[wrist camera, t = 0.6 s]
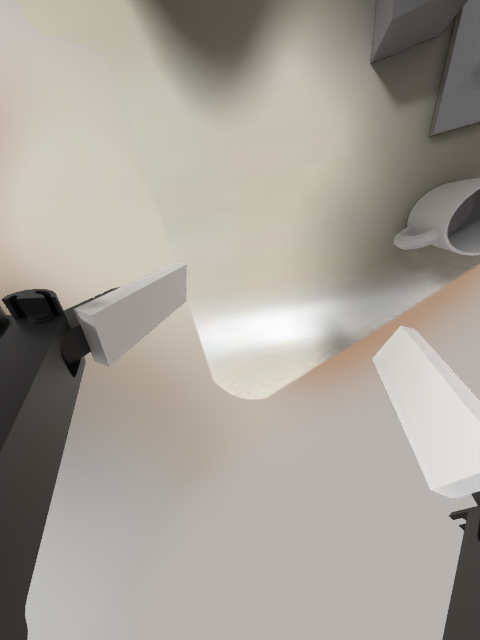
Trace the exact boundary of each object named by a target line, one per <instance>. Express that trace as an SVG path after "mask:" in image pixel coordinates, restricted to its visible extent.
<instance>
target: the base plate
mask: <svg viewBox="0 0 480 640" xmlns="http://www.w3.org/2000/svg"><path fill="white" fill-rule="evenodd" d="M476 123H480V0H468V1H467V2H466V4H465V5H464V6H463V7H462V8H461V10H460V11H459V12H458V13H457V15H456V19H455V23H454V27H453V32H452V36H451V41H450V45H449V50H448V54H447V58H446V63H445V67H444V72H443V76H442V81H441V85H440V90H439V94H438V98H437V103H436V107H435V112H434V116H433V121H432V125H431V129H430V134H429V136H433V135H436V134H440V133H444V132H447V131H451V130H454V129H458V128H462V127H465V126H469V125H473V124H476Z"/></svg>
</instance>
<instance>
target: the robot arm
mask: <svg viewBox="0 0 480 640" xmlns="http://www.w3.org/2000/svg"><path fill="white" fill-rule="evenodd" d="M2 301H3V302H4V304H5V305H6V307H7V308H8V310H9V311H10V313H11V314H12V315H6V314H5V312H4V311H3V309H2V308H1V306H0V640H27V635H28V633H27V632H28V629H27V624H26V619H25V605H26V599H27V595H28V591H29V587H30V583H31V579H32V575H33V571H34V567H35V563H36V559H37V555H38V551H39V547H40V543H41V539H42V534H43V531H44V526H45V523H46V519H47V515H48V511H49V507H50V503H51V499H52V494H53V491H54V486H55V483H56V479H57V474H58V471H59V466H60V463H61V458H62V455H63V450H64V446H65V442H66V438H67V434H68V430H69V426H70V422H71V418H72V414H73V410H74V406H75V402H76V398H77V394H78V390H79V386H80V382H81V378H82V374H83V370H84V366H85V357H84V356H85V355H86V354H88V353H89V352H91V353H92V356H93V358H94V360H95V361H96V362H99V363H102V364H104V365H107V366H110V365H112V364H113V363H114V362H115V361H116V360H118V359H119V358H120V357H121V356H122V355H123V354H124V353H125V352H127V351H128V350H129V349H130V348H132V347H133V346H134V345H135V344H136V343H137V342H139V341H140V340H141V339H142V338H143V337H144V336H146V335H147V334H148V333H149V332H150V331H152V330H153V329H154V328H155V327H156V326H157V325H158V324H160V323H161V322H162V321H163V320H164V319H166V318H167V317H168V316H169V315H170V314H171V313H173V312H174V311H175V310H176V309H177V308H179V307H180V306H181V305H182V304H183V303H184V302H186V264H183V263H179V262H174V263H171V264H169V265H167V266H165V267H163V268H161V269H159V270H157V271H154V272H152V273H150V274H148V275H146V276H144V277H141V278H139V279H137V280H135V281H133V282H131V283H129V284H126V285H124V286H122V287H118V288H114V289H111V290H109V291H106V292H104V293H103V294H100V295H97V296H95V298H91V299H89V300H87V301H84V302H82V303H80V304H78V305H76V306H73V307H71V308H69V309H67V310H65V311H63V309H62V306H61V305H60V302H59V300H58V297H57V295H56V294H55V293H54V292H53V291H50V290H46V289H32V290H24V291H20V292H16V293H13V294H10V295H7V296H6V297H4V298H3V299H2ZM372 361H373V363H374V365H375V367H376V369H377V372H378V374H379V376H380V378H381V381H382V383H383V385H384V387H385V389H386V392H387V394H388V396H389V398H390V401H391V403H392V405H393V407H394V409H395V412H396V414H397V416H398V418H399V421H400V423H401V425H402V427H403V430H404V432H405V434H406V436H407V438H408V441H409V443H410V445H411V447H412V449H413V452H414V454H415V456H416V458H417V461H418V463H419V465H420V467H421V470H422V472H423V474H424V476H425V479H426V481H427V483H428V485H429V487H430V490H432V491H434V492H437V493H439V494H442V495H445V496H447V497H450V498H452V499H458V498H461V497H465V496H468V495H472V496H473V498H474V500H475V501H476V503H477V505H478V506H476V507H472V508H468V509H464V510H460V511H456V512H452V513H451V514H450V515H449V516H450V517H451V518H452V519H453V520H455V519H459V518H463V519H465V520H466V524H462V525H459V526H460V527H461V528H462V529H463V530H464V535H463V541H462V545H461V550H460V555H459V560H458V566H457V570H456V575H455V580H454V585H453V590H452V595H451V600H450V605H449V610H448V615H447V620H446V625H445V630H444V635H443V640H480V401H479V400H478V399H477V398H476V397H475V395H474V394H473V393H472V392H471V391H470V390H469V389H468V387H467V386H466V385H465V384H464V383H463V382H462V381H461V380H460V378H459V377H458V376H457V375H456V374H455V373H454V372H453V371H452V370H451V369H450V367H449V366H448V365H447V364H446V363H445V362H444V361H443V360H442V358H441V357H440V356H439V355H438V354H437V353H436V352H435V351H434V350H433V348H432V347H431V346H430V345H429V344H428V343H427V342H426V341H425V340H424V339H423V337H422V336H421V335H420V334H419V333H418V332H417V331H416V330H415V329H412V328H408V327H405V326H402V325H401V326H400V327H399V328H398V329H397V330H396V331H395V333H394V334H393V335H392V336H391V337H390V338H389V340H388V341H387V342H386V343H385V344H384V345H383V347H382V348H381V349H380V350H379V351H378V352H377V354H376V355H375V356H374V357H373V358H372Z"/></svg>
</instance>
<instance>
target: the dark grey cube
mask: <svg viewBox="0 0 480 640" xmlns="http://www.w3.org/2000/svg"><path fill="white" fill-rule="evenodd" d="M467 1H468V0H377V2H376V12H375V22H374V32H373V42H372V52H371V63H373V62H376V61H378V60H381V59H383V58H385V57H388V56H390V55H393V54H395V53H398V52H400V51H402V50H405V49H407V48H410V47H412V46H415V45H417V44H419V43H422V42H424V41H427V40H429V39H432V38H434V37H437V36H439V35H440V34H441V33H442V32H443V31H444V29H445V28H446V27H447V26H448V25H449V23H450V22H451V21H452V20H453V18H454V17H455V16H456V15H457V13H458V12H459V11H460V10H461V8H462V7H463V6H464V5H465V4H466V2H467ZM371 63H370V64H371Z"/></svg>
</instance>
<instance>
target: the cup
mask: <svg viewBox="0 0 480 640" xmlns="http://www.w3.org/2000/svg"><path fill="white" fill-rule="evenodd" d="M393 243H394V245H395V246H397V247H398V248H400V249H404V250H410V249H417V248H422V247H426V246H429V245H432V246H435V247H439V248H442V249H445V250H448V251H452V252H455V253H458V254H461V255H470V256H474V255H480V177H479V178H472V179H466V180H459V181H454V182H450V183H446V184H443V185H440V186H438V187H436V188H434V189H432V190H431V191H429V192H428V193H426V194H425V195H424V196H423V197H422V198H421V199H419V200H418V202H417V203H416V204H415V206H414V207H413V208H412V210H411V212H410V214H409V217H408V221H407V228H405V229H404V230H402V231H400V232H399V233H398V234H397V235H395V238H394V242H393Z"/></svg>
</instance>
